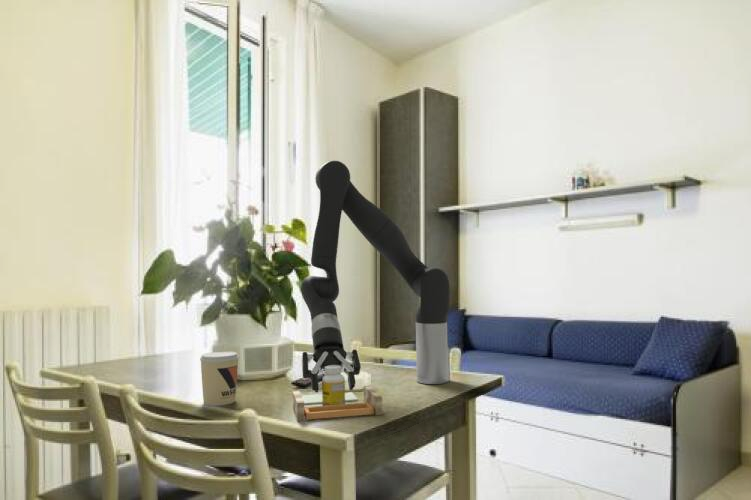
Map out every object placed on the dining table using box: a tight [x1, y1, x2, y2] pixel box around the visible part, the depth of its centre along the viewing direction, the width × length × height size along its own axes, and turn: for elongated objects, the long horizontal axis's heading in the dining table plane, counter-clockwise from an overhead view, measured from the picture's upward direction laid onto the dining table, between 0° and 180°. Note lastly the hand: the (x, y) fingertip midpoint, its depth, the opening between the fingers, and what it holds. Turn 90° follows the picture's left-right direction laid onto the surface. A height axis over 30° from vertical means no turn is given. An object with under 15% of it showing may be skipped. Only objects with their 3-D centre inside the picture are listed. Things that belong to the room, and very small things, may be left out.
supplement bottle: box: [321, 365, 346, 406], centre depth 124 cm, size 5×5×10 cm
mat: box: [301, 391, 359, 406], centre depth 132 cm, size 8×14×1 cm, turn 104°
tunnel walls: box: [291, 385, 383, 423], centre depth 120 cm, size 12×19×4 cm, turn 104°
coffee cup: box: [199, 351, 239, 407], centre depth 131 cm, size 9×9×12 cm
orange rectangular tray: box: [304, 402, 374, 422], centre depth 117 cm, size 6×15×2 cm, turn 104°
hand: (334, 389), depth 122 cm, fingers open, 8 cm apart
